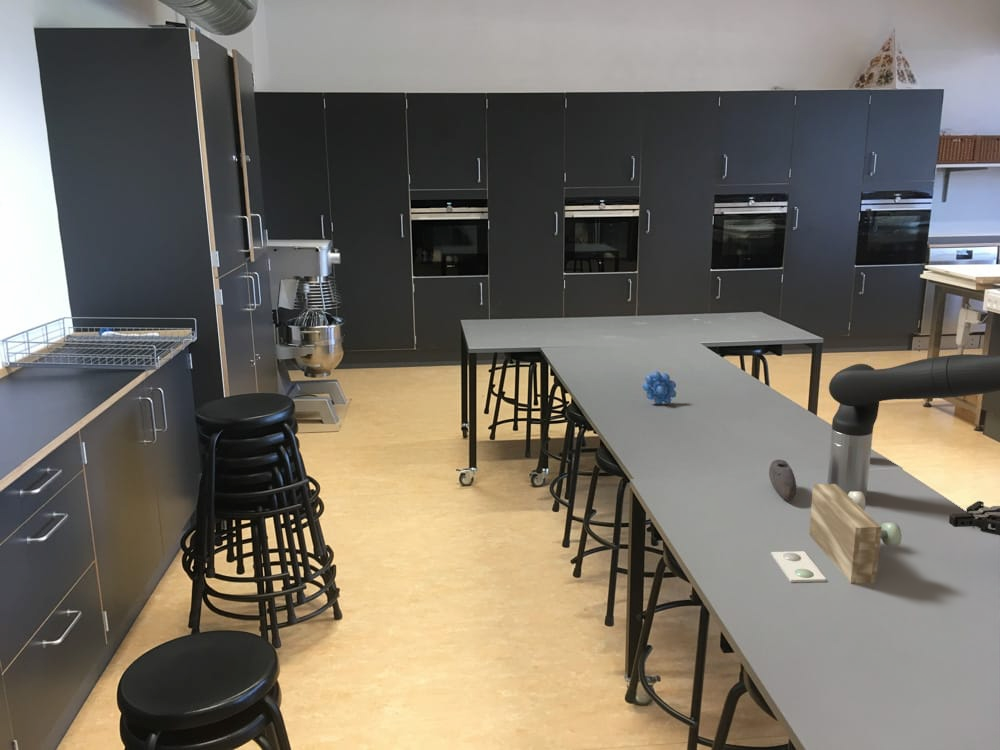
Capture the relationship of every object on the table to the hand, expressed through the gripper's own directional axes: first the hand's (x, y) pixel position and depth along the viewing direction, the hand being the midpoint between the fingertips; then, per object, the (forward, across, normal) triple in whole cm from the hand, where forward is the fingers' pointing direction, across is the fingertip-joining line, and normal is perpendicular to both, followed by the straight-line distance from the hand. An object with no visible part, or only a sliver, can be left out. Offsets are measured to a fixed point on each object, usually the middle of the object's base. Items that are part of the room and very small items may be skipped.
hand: (951, 520), depth 160 cm
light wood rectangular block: (+17, -8, +12) cm, 22 cm away
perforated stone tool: (+18, -42, +11) cm, 47 cm away
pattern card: (+28, -4, +11) cm, 31 cm away
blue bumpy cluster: (+34, -121, +10) cm, 127 cm away
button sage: (+13, 0, +5) cm, 14 cm away
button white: (+13, -16, +5) cm, 22 cm away
